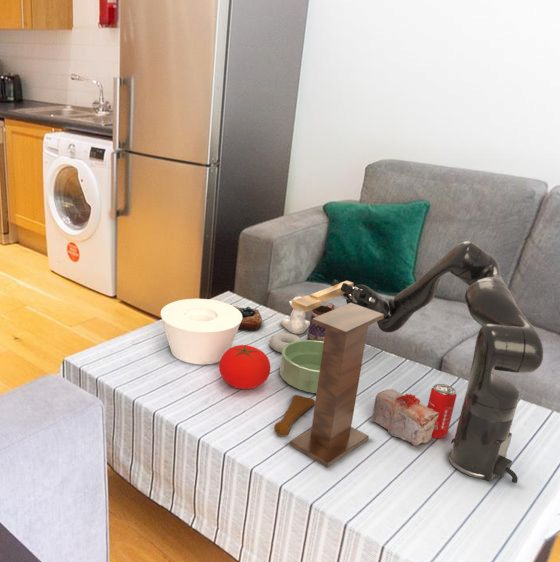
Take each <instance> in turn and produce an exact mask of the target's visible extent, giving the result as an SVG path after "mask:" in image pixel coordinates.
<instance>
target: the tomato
mask: <svg viewBox="0 0 560 562" xmlns="http://www.w3.org/2000/svg"><path fill="white" fill-rule="evenodd" d="M218 363H219V364H218V368H219V369H218V370H219V373H220V375H221V378H222V379H223V380H224V382H225V383H226V384H227V385H229V386H230V387H232V388H235V389H239V390H251V389H254V388H258V387H259V386H261V385H263V384H264V383H265V382H266V381H267V380H268V378H269V376H270V374H271V362H270V360H269V357H268V356H267V355H266V353H265V352H264V351H262V350H261V349H259V348H257V347H255V346H252V345H247V344H239V345H234V346H231V348H230V349H228V350H227V351H226V352H225V353H224V354H223V356H222V358H221V360H220V362H218Z"/></svg>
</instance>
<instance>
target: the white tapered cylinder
mask: <svg viewBox="0 0 560 562" xmlns="http://www.w3.org/2000/svg"><path fill="white" fill-rule="evenodd" d="M233 306H234V305H232V304H229V303H227V302H223V301H221V300H220V301H219V300H216V299H208V298H185V299H179V300H175V301H172V302H169V303H168V304H166V305H164V306H163V307H162V309H161V310H160V317H161V320H162V325H163V327H164V331H165V334H166V338H167V341H168V345H169V348H170V351H171V354H172V355H173V356H174V358H176V359H178V360H180V361H182V362H185V363H188V364H192V365H193V364H194V365H212V364H217V363H220V360H221V358H222V356H223V354H224V353H225V352H226V351H227V350H228V349H230V348H231V347H232V346H233V342H234V341H235V338H236V335H237V334H238V331H239V330H238V328H239V326H240V323H241V321H242V314H241V312H240V311H239V310H238V309H237V308H235V307H236V306H235V307H233Z"/></svg>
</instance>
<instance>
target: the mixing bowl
mask: <svg viewBox="0 0 560 562" xmlns="http://www.w3.org/2000/svg"><path fill="white" fill-rule="evenodd" d="M323 343H324V342H323V341H316V340H307V339H301V340H299V341H294V342H291V343H289V344H286V345H285V346H284V347H283V349H282V353H281V358H280V360H281V361H280V367H279V374H280V377H281V379H282V380H283V381H284V382H286V383H287V384H288V385H289V386H292V387H294V388H295V389H298V390H300V391H304V392H307V393H311V394H312V393H313V394H317V386H318V379H319V372H320V365H321V358H322V351H323Z"/></svg>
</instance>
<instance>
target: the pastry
mask: <svg viewBox="0 0 560 562" xmlns="http://www.w3.org/2000/svg"><path fill="white" fill-rule="evenodd" d="M232 306H233V307H235V308H237V309H238V310H239V311H240V312H241V314H242V321H241V323H240V326H239V328H238V331H246V332H257V331H259V330H260V329H261V328H262V323H263V319H262V315H261V313H260V310H259V309H257V308H251V307H250V306H247V307H239V306H237V305H236V306H235V305H232Z"/></svg>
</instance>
